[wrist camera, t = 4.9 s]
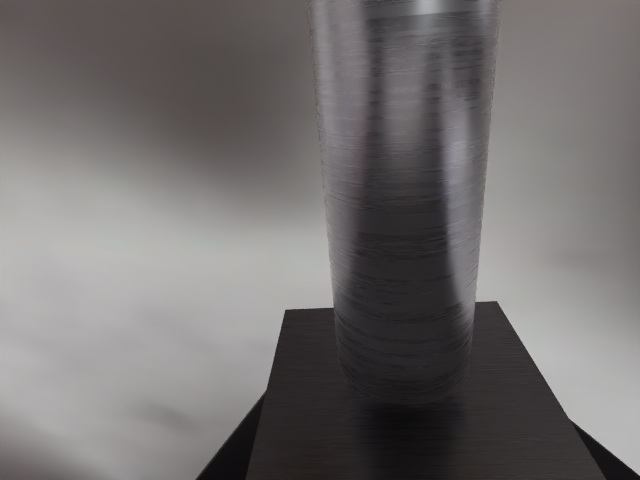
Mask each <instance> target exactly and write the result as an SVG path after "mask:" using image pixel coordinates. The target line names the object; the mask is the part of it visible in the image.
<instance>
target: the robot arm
mask: <svg viewBox="0 0 640 480" xmlns="http://www.w3.org/2000/svg"><path fill="white" fill-rule="evenodd" d="M265 395H266V391H265V393H264V394H263V395H262V396H261V398H260V399H259V400H258V401H257V403H256V404H255V405H254V406H253V408H252V409H251V410H250V411H249V413H248V414H247V415H246V417H245V418H244V419H243V420H242V422H241V423H240V424H239V425H238V427H237V428H236V429H235V430H234V432H233V433H232V434H231V435H230V437H229V438H228V439H227V440H226V442H225V443H224V444H223V445H222V447H221V448H220V449H219V450H218V452H217V453H216V454H215V456H214V457H213V458H212V459H211V461H210V462H209V463H208V464H207V466H206V467H205V468H204V469H203V471H202V472H201V473H200V474H199V476H198V477H197V478H196V479H195V480H245V479H246V475H247V471H248V467H249V462H250V458H251V454H252V450H253V445H254V441H255V437H256V433H257V429H258V424H259V420H260V416H261V412H262V407H263V403H264V399H265ZM569 420H570V419H569ZM570 421H571V420H570ZM571 423H572V425H573V426H574V428H575V429H576V431H577V433H578V434H579V436H580V438H581V439H582V441H583V443H584V444H585V446H586V447H587V449H588V451H589V452H590V454H591V456H592V457H593V459H594V460H595V462H596V464H597V465H598V467H599V469H600V470H601V472H602V473H603V475H604V477H605V478H606V480H640V476H639V475H638V474H637V473H636V472H634V471H633V470H632V469H631V468H629V467H628V466H627V465H626V464H624V463H623V462H622V461H621V460H620V459H618V458H617V457H616V456H615V455H613V454H612V453H611V452H610V451H608V450H607V449H606V448H605V447H603V446H602V445H601V444H600V443H599V442H597V441H596V440H595V439H594V438H592V437H591V436H590V435H589V434H587V433H586V432H585V431H584V430H582V429H581V428H580V427H579V426H578V425H576V424H575V423H574V422H573V421H571Z"/></svg>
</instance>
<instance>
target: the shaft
mask: <svg viewBox="0 0 640 480" xmlns="http://www.w3.org/2000/svg"><path fill="white" fill-rule="evenodd" d="M500 4H501V0H308V12H309V24H310V35H311V47H312V59H313V70H314V82H315V93H316V105H317V117H318V128H319V140H320V152H321V163H322V175H323V187H324V198H325V210H326V222H327V233H328V245H329V257H330V268H331V280H332V291H333V303H334V308H317V309H292V310H285V314H284V318H283V323H282V327H281V331H280V335H279V340H278V344H277V348H276V352H275V356H274V361H273V365H272V369H271V373H270V378H269V382H268V386H267V390H266V395H265V399H264V403H263V407H262V412H261V416H260V420H259V424H258V429H257V433H256V437H255V441H254V445H253V450H252V454H251V458H250V462H249V467H248V471H247V475H246V479H245V480H606V478H605V477H604V475H603V473H602V472H601V470H600V469H599V467H598V465H597V464H596V462H595V460H594V459H593V457H592V456H591V454H590V452H589V451H588V449H587V447H586V446H585V444H584V443H583V441H582V439H581V438H580V436H579V434H578V433H577V431H576V429H575V428H574V426H573V425H572V423H571V421H570V420H569V418H568V416H567V415H566V413H565V412H564V410H563V408H562V407H561V405H560V403H559V402H558V400H557V399H556V397H555V395H554V394H553V392H552V390H551V389H550V387H549V386H548V384H547V382H546V381H545V379H544V377H543V376H542V374H541V373H540V371H539V369H538V368H537V366H536V364H535V363H534V361H533V359H532V358H531V356H530V355H529V353H528V351H527V350H526V348H525V346H524V345H523V343H522V342H521V340H520V338H519V337H518V335H517V333H516V332H515V330H514V329H513V327H512V325H511V324H510V322H509V320H508V319H507V317H506V316H505V314H504V312H503V311H502V309H501V307H500V306H499V304H498V303H497V301H492V302H475V298H476V287H477V275H478V263H479V251H480V240H481V228H482V216H483V204H484V192H485V181H486V169H487V157H488V145H489V134H490V122H491V110H492V98H493V87H494V75H495V63H496V51H497V40H498V28H499V16H500Z"/></svg>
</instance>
